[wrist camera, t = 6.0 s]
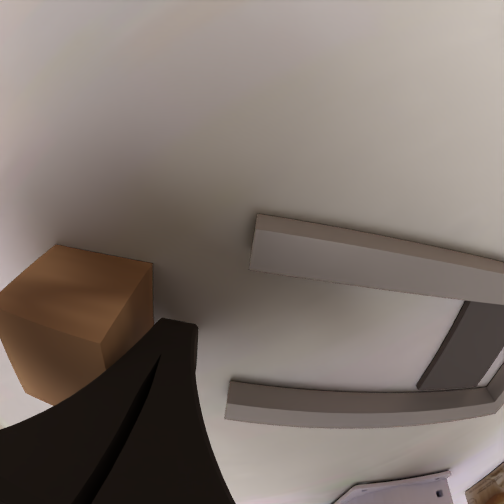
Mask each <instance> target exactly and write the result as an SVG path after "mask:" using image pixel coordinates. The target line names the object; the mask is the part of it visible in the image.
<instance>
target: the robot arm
mask: <svg viewBox="0 0 504 504" xmlns="http://www.w3.org/2000/svg"><path fill="white" fill-rule="evenodd" d="M197 345H198V327H197V326H196V324H192V323H186V322H181V321H176V320H171V319H165V318H161V319H160V320H158V321H157V322H156V324H155V325H154V326H153V327H152V328H151V329H150V330H149V331H148V332H147V333H146V334H145V335H144V336H143V337H142V338H141V339H140V340H139V341H138V342H137V343H136V344H135V345H134V346H133V347H132V348H131V349H130V350H128V351H127V352H126V353H125V354H124V355H123V356H122V357H121V358H120V359H119V360H118V361H116V362H115V363H114V364H113V365H112V366H110V367H109V368H108V369H107V370H106V371H104V372H103V373H102V374H101V375H100V376H98V377H97V378H96V379H94V380H93V381H92V382H90V383H89V384H88V385H86V386H85V387H83V388H82V389H80V390H79V391H77V392H76V393H75V394H73V395H71V396H70V397H68V398H66V399H65V400H63V401H61V402H60V403H58V404H56V405H55V406H53V407H51V408H49V409H47V410H46V411H44V412H42V413H39V414H37V415H35V416H33V417H31V418H29V419H26V420H24V421H22V422H20V423H17V424H15V425H12V426H10V427H7V428H4V429H1V430H0V504H236V503H235V502H234V500H233V498H232V496H231V494H230V491H229V489H228V487H227V485H226V483H225V481H224V479H223V476H222V474H221V471H220V469H219V466H218V464H217V461H216V458H215V456H214V453H213V450H212V448H211V444H210V441H209V438H208V435H207V432H206V428H205V424H204V420H203V416H202V412H201V408H200V403H199V397H198V391H197V384H196V375H195V371H196V363H197ZM449 476H451V471H445V472H441V473H437V474H432V475H427V476H422V477H416V478H410V479H404V480H397V481H390V482H382V483H373V484H362V485H356V486H354V487H352V488H351V489H350V490H349V491H348V492H347V493H346V494H344V495H343V496H342V497H341V498H340V499H339V500H337V501H336V502H335V503H334V504H453V501H452V497H451V493H450V490H449V486H448V482H447V478H448V477H449Z"/></svg>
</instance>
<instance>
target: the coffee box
mask: <svg viewBox="0 0 504 504" xmlns="http://www.w3.org/2000/svg"><path fill="white" fill-rule="evenodd" d="M465 495H466V499H467V502H468V504H504V463H502V464H501V465H500V466H499V467H498V468H496V469H495V470H494V471H493V472H491V473H490V474H489V475H488V476H486V477H485V478H484V479H482V480H481V481H480V482H478V483H477V484H476V485H474V486H473V487H471V488H470V489H469V490H467V491H466V492H465Z"/></svg>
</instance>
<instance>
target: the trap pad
mask: <svg viewBox="0 0 504 504" xmlns="http://www.w3.org/2000/svg"><path fill="white" fill-rule="evenodd" d="M503 347H504V305H500V304H491V303H483V302H475V301H465V303H464V305H463V307H462V309H461V311H460V313H459V315H458V317H457V319H456V321H455V322H454V324H453V326H452V328H451V330H450V332H449V333H448V335H447V337H446V339H445V340H444V342H443V344H442V346H441V347H440V349H439V351H438V352H437V354H436V356H435V357H434V359H433V361H432V362H431V364H430V365H429V367H428V369H427V370H426V372H425V373H424V375H423V376H422V378H421V379H420V381H419V382H418V384H417V385H416V386H417V389H418V390H437V389H453V388H466V387H476V386H477V385H478V383H479V382H480V381H481V379H482V378H483V376H484V375H485V374H486V372H487V371H488V369H489V368H490V366H491V365H492V364H493V362H494V361H495V359H496V358H497V356H498V355H499V353H500V351H501V350H502V348H503Z"/></svg>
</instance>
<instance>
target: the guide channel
mask: <svg viewBox="0 0 504 504" xmlns="http://www.w3.org/2000/svg"><path fill="white" fill-rule="evenodd" d="M249 270H252V271H259V272H265V273H272V274H278V275H285V276H291V277H298V278H305V279H312V280H318V281H325V282H332V283H339V284H346V285H353V286H360V287H367V288H375V289H382V290H389V291H397V292H404V293H412V294H419V295H427V296H435V297H442V298H450V299H458V300H466V301H475V302H483V303H491V304H500V305H504V262H500V261H496V260H492V259H488V258H483V257H479V256H475V255H470V254H466V253H462V252H457V251H453V250H448V249H444V248H439V247H434V246H430V245H425V244H420V243H416V242H411V241H406V240H401V239H396V238H391V237H386V236H381V235H376V234H371V233H365V232H360V231H355V230H350V229H344V228H339V227H333V226H328V225H322V224H317V223H311V222H305V221H299V220H293V219H287V218H281V217H275V216H269V215H263V214H257V219H256V225H255V231H254V237H253V243H252V249H251V257H250V264H249ZM503 404H504V364H503V365H502V366H501V368H500V369H499V371H498V372H497V374H496V375H495V376H494V378H493V379H492V380H491V382H490V383H489V384H488V386H487V387H484V388H474V389H464V390H451V391H436V392H412V393H359V392H334V391H317V390H304V389H292V388H282V387H273V386H264V385H256V384H248V383H241V382H234V381H230V384H229V390H228V397H227V403H226V410H225V417H224V419H227V420H234V421H241V422H249V423H258V424H268V425H279V426H292V427H308V428H387V427H403V426H416V425H426V424H435V423H443V422H451V421H457V420H464V419H470V418H476V417H481V416H486V415H491V414H495V413H496V412H497V411H498V410H499V409H500V407H501V406H502V405H503Z"/></svg>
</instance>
